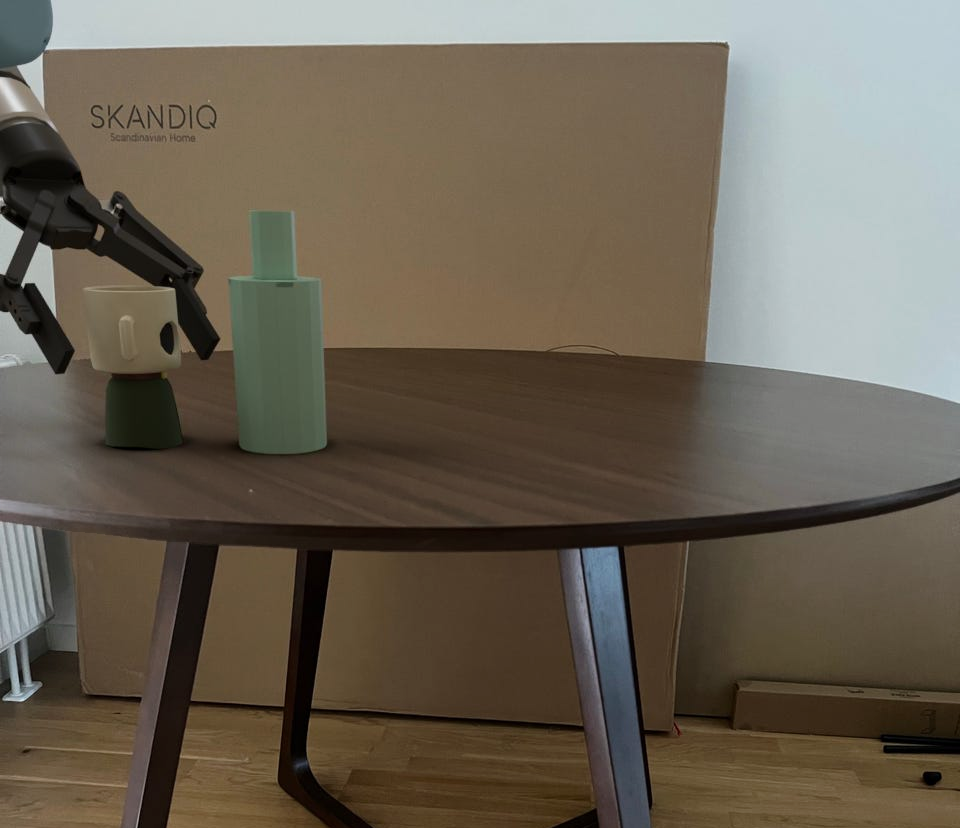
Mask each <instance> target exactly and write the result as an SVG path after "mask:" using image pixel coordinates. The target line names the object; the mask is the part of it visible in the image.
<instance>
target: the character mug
mask: <svg viewBox="0 0 960 828" xmlns="http://www.w3.org/2000/svg"><path fill="white" fill-rule="evenodd" d="M82 297H83V305H84V306H83V307H84V313H85V321H86V323H85V324H86V330H87V339H88V340H87V341H88V347H89V354H90V355H89V357H90V362H91V366H92V368H93V369H94V370H96V371H98V372H101V373H106V374H111V375H110V376H111V377H110V379H109V380H108V382H107V385H106V388H105V409H104V431H105V433H104V434H105V436H104V437H105V446H110V447H122V448H123V447H124V448H145V449H154V450H163V449H168V448H169V449H170V448H175V447H177V446H179V445H182V444H183V440H184V438H183V431H182V425H181V421H180V416H179V412H178V407H177V402H176V398H175V394H174V390H173V386H172V384H171V382H170V381H169V379H168V372H170V371H174V370H176V369H179V368H180V367H181V366H182V354H181V353H182V351H181V336H180V325H179V324H178V317H177V305H176V294H175V289H174V288H169V287H159V286H153V285H133V284H132V285H131V284H127V285H126V284H125V285H124V284H123V285H120V284H119V285H118V284H117V285H115V284H114V285H98V286H88V287H84V288H82Z"/></svg>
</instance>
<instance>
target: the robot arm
mask: <svg viewBox="0 0 960 828" xmlns="http://www.w3.org/2000/svg"><path fill="white" fill-rule="evenodd" d="M52 5H53V4H52V0H0V215H1V216H2V217H3V218H4V219H5V220H6V221H7V222H8V223H10V224H12V225H13V226H15V227H16V228H17V229H19V230H20V231H22V232H23V233H22V235H21V236H20V239H19V241H18V244H17V245H16V248H15V250H14V253H13V255H12V257H11V259H10V262H9V264H8V267H7V269H6V272H5V273H4V274H3V273H0V312H2V313H10V315H11V316H12V319H13V321H14V323H15V324H16V326H17V327H18V329H19V330H20V331H21V332H22V333H23V334H24V335H26V336H27V335H31V337H33V339H34V341H35V343H36V345H37V346H38V348H39V350H40V352H41V353H42V355H43V356H44V357H45V358H44V359H45V360H46V361H47V363H48V365H49V366H50V368H51V370H52V371H53V373H54V374H55V375H56V376H57V375H65V374H66V371H67V369H68V367H69V365H70V363H71V360H72V358H73V356H74V354H75V352H76V350H75V348H74V346H73V344H72V343H71V341H70V339H69V337H68V336H67V335H66V333H65V331H64V329H63V328H62V326H61V324H60V323H59V321H58V320H57V318H56V315H54V312H53V311H52V310H51V308H50V306H49V304H48V303H47V301H46V300H45V298H44V296H43V295H42V293H41V291H40V290H39V287H38V286H37V285H36V283H35V282H25V283H24V286H23V285H22V284H23V282H24V279H25V276H26V274H27V273H28V269H29V267H30V264H31V262H32V260H33V258H34V255H35V252H36V250H37V249H38V246H39V244H41V245H44V246H46V247H49V248H50V250H53V251H55V250H57V251H58V250H64V249H73V250H77V251H79V250H83V251H84V250H86V251H87V250H88V251H89V252H91V253H92V254H93V255H95V256H97V257H100V258H102V257H107V258H109V259H110V260H112V261H113V262H115V263H117V264H118V265H120V266H122V267H123V268H124V269H126V270H128V271H129V272H131V273H132V274H134V275H135V276H138V277H139V278H141V279H142V280H143V281H145V282H146V283H149V284H150V285H151V286H159V287H169V288H174V289H175V294H176V305H177V317H178V326H179V328H180V329H181V330H182V332H183V333H184V336H185V337H186V339H187V340H188V342H189V343H190V345H191V347H192V348H193V349H194V352H195V353H196V354H197V356H198V358H199V360H200V361H208V360H209V359H210V358H211V356H212V354H213V352H214V351H215V350H216V348H217V346H218V344H219V342H220V341H221V337H220V335H219V334H218V332H217V331H216V329H215V328H214V325H213V324H212V323H211V321H210V320H209V318H208V317H207V314H208V309H207V307H206V305H205V304H204V302H203V300H202V299H201V297H200V295H199V294H198V292H197V291H196V287H197V285H198V283H199V282H200V280H201V277H202V275H203V274H204V271H205V269H204V268H203V266H202V265H201V264H200V263H198V262H197V260H196V259H194V258H193V257H192V256H191V255H190V254H188V252H186V251H185V250H184V249H183V248H181V247H180V246H179V245H178V244H176V243H175V242H174V241H173V240H172V239H171V238H170V237H168V236H167V235H166V233H164V232H162V230H160V229H159V228H158V227H157V226H156V225H154V223H152V222H151V221H150V220H148V218H146V217H145V216H144V215H143V214H141V212H139V211H138V210H137V208H136V207H135V206H134V204H133V203H132V201H130V199H129V198H128V197H127V195H126V194H125V193H123V192H122V191H119V190H115V191H113V193H112V195H111V198H108V199H99V198H97V197H96V196H95V195H94V194H93V193H91V192H90V191H89V190H88V189H87V187H86V185H85V181H84V177H83V174H82V171H81V170H82V169H81V167H80V165H79V163H78V162H77V159H75V157H74V155H73V154H72V152H71V150H70V148H69V147H68V145H67V144H66V142H65V141H64V138H63V137H62V136H61V134H59V130H58V129H57V127H56V126H55V124H54V122H53V121H52V119H51V118H50V116H49V115H48V113H47V111H46V109H45V108H44V107H43V105H42V104H41V102H40V100H39V98H38V97H37V96H36V94H35V93H34V91H33V90H32V88H31V86H30V85H29V84H28V83H27V81H26V79H25V77H24V76H23V74H22V73H21V71H20V69H19V66H22V65H27V64H30V63H32V62H34V61H35V60H37V59H38V58H39V57H40V56H42V55H43V53H45V52H46V48H47V46H48V44H49V42H50V40H51V37H52V33H53V27H54V13H53V6H52ZM99 226H101V227H102V229H103V233H102V236H101V238H100V240H98V239H97V238H95V237H96V235H97V232H98V228H99Z"/></svg>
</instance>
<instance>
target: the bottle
mask: <svg viewBox="0 0 960 828" xmlns="http://www.w3.org/2000/svg"><path fill="white" fill-rule="evenodd" d="M295 217H296V216H295V211H294V210H292V211H291V210H261V209H259V210H258V209H257V210H256V209H255V210H253V209H250V210H248V218H249V219H248V220H249V235H250V236H249V237H250V253H251V268H252V275H237V276H230V277H228V278H227V280H228V294H229V295H228V298H229V310H230V311H229V313H230V326H231V328H230V329H231V340H232V356H233V371H234V386H235V402H236V414H237V415H236V417H237V431H238V443H239V444H238V446H239V447H240V448H241V449H242V450H244V451H247V452H250V453H256V454H261V455H263V454H264V455H298V454H306V453H313V452H317V451H319V450H323V449H325V447H326V446H327V445H328V436H327V434H328V433H327V408H326V407H327V405H326V376H325V349H324V346H325V345H324V344H325V343H324V321H323V317H324V315H323V292H322V291H323V289H322V288H323V287H322V286H323V285H322V279H321V278H318V277H310V276H299V275H298V266H297V242H296V240H297V239H296V238H297V237H296V219H295Z"/></svg>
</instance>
